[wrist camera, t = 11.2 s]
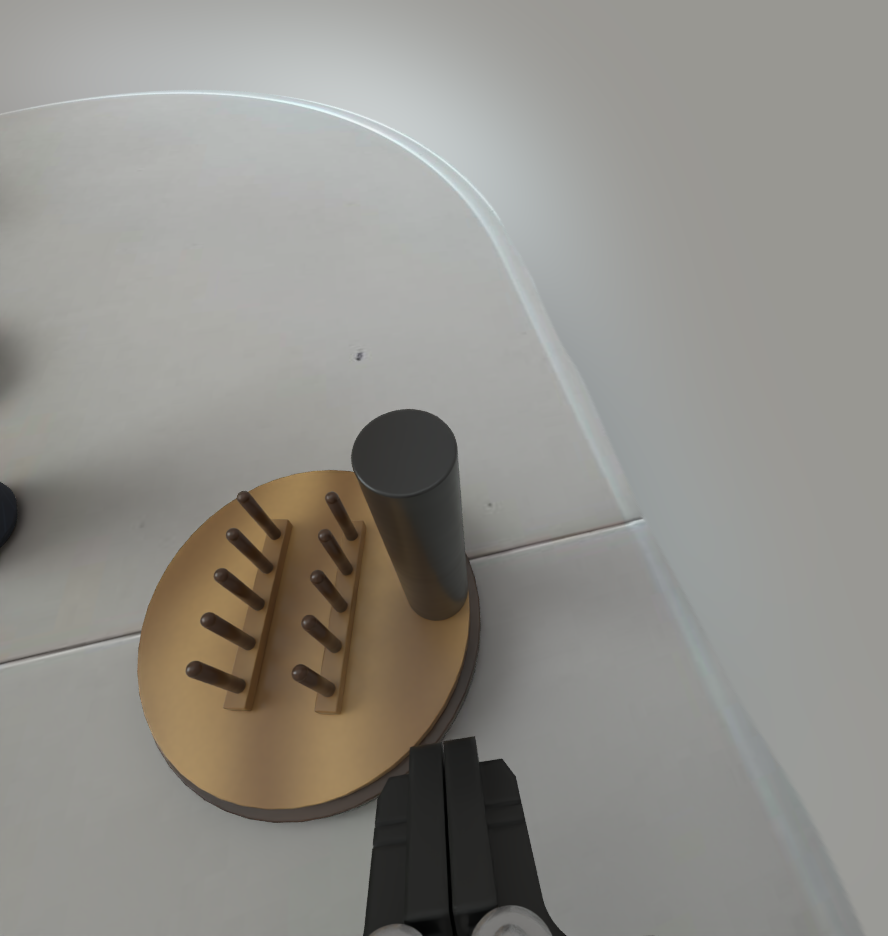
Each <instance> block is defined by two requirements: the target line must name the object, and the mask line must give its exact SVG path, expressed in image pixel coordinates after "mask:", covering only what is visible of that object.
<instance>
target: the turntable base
mask: <svg viewBox="0 0 888 936" xmlns="http://www.w3.org/2000/svg"><path fill="white" fill-rule="evenodd" d="M465 556H466V569H467V582H468V592H469V607H470V628H469V640H468V646H467V651H466V655H465V660H464V665H463V667H462V670H461V673H460V676H459V679H458V682H457V685H456V687H455V689H454V691H453V694H452V696H451V698H450V700H449V702H448V704H447V706H446V708H445V710H444V711H443V713H442V714H441V716H440V717H439V719H438V720H437V722H436V723H435V725H434V726H433V728H432V729H431V731H430V732H429V733H428V734H427V735H426V737H425V738H424V739H423V740H422V741H421V743H420V744H419V745H426V744H432V743H438V742H441V741H442V739H443V738H444V736H445V735H446V733H447V731H448V730H449V728H450V727H451V725H452V724H453V722H454V721H455V719H456V717H457V715H458V713H459V711H460V709H461V707H462V704H463V702H464V700H465V698H466V696H467V693H468V690H469V687H470V684H471V681H472V678H473V675H474V672H475V667H476V662H477V657H478V652H479V641H480V606H479V596H478V591H477V586H476V581H475V577H474V574H473V571H472V568H471V565H470V562H469V559H468V557H467V555H466V553H465ZM154 740H155V739H154ZM155 742H156V740H155ZM156 744H157V742H156ZM419 745H418V746H419ZM157 747H158V749H159V750H160V752H161V754H162V755H163V757H164V758H165V760H166V762H167V763H168V765H169V766H170V768H171V769H172V770H173V771H174V772H175V774H176V775H177V776H178V777H179V778H180V779H181V780H182V781H183V783H184V784H185V785H186V786H188V787H189V788H190V789H191V790H193V791H194V792H195V793H196V794H198V795H199V796H200V797H201V798H203V799H204V800H206V801H207V802H209V803H211V804H213V805H215V806H217V807H219V808H220V809H222V810H224V811H226V812H229V813H232V814H235V815H239V816H242V817H245V818H248V819H253V820H259V821H266V822H273V823H283V822H304V821H310V820H315V819H321V818H326V817H330V816H334V815H337V814H340V813H343V812H346V811H349V810H352V809H355V808H358V807H360V806H362V805H364V804H366V803H368V802H370V801H372V800H374V799H375V798H377V797H379V795H380V793H381V792H382V790H383V788H384V786H385V784H386V782H387V780H388V778H389V777H393V776H399V775H405V774H409V755H408V756H407V757H406V758H405V759H404V760H403V761H401V762H400V763H399V764H398V765H397V766H396V767H395V768H394V769H392V770H391V771H389V772H388V773H386V774H385V775H384V776H382V777H381V778H379V779H378V780H376V781H375V782H373V783H372V784H370V785H368V786H366V787H364V788H362V789H360V790H358V791H356V792H354V793H352V794H350V795H348V796H345V797H342V798H339V799H336V800H333V801H330V802H327V803H324V804H318V805H313V806H307V807H302V808H296V809H272V810H266V809H259V808H252V807H245V806H240V805H237V804H234V803H231V802H228V801H225V800H222V799H219V798H217V797H215V796H213V795H212V794H210V793H208V792H206V791H204V790H202V789H200V788H198V787H197V786H196V785H195V784H193V783H192V782H191V781H190V780H188V779H187V778H186V777H184V776H183V775H182V774H181V773H180V772H179V771H178V770H177V769H176V768H175V767H174V766H173V764H172V763H171V762H170V761H169V760H168V759H167V758H166V757H165V755H164V753H163V752H162V750H161V749H160V747H159V745H158V744H157Z"/></svg>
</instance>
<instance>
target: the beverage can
mask: <svg viewBox="0 0 888 936" xmlns="http://www.w3.org/2000/svg"><path fill="white" fill-rule="evenodd" d="M16 520H17V503H16V498H15V495H14V493H13V492H12V490H11V489H10V488H9V487H7V486H6V485H4V484H3V483H1V482H0V547H1V546H2V545H3V544H4V543H5V542H6V540H7V539H8V538H9V536H10V535H11V533H12V531H13V529H14V527H15V524H16Z"/></svg>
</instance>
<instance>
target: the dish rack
mask: <svg viewBox="0 0 888 936" xmlns="http://www.w3.org/2000/svg"><path fill="white" fill-rule="evenodd" d="M351 462H352V467H353V471H354V472H351V471H337V470H325V471H311V472H305V473H299V474H294V475H290V476H287V477H283V478H279V479H276V480H273V481H271V482H268V483H266V484H263V485H261V486H258V487H256V488H254V489H252V490H250V491H249V492H247V491H241V492H240V493H238V495H237V498H236V499H235V500H233V501H232V502H230V503H228V504H227V505H225V506H224V507H223V508H221V509H220V510H219V511H218V512H216V513H215V514H214V515H212V516H211V517H210V518H209V519H208V520H207V521H206V522H205V523H203V524H202V525H201V526H200V527H199V528H198V529H197V530H196V531H195V532H194V533H193V534H192V535H191V537H190V538H189V539H188V540H187V541H186V542H185V544H184V545H183V546H182V547H181V548H180V550H179V551H178V552H177V554H176V555H175V557H174V558H173V560H172V561H171V562H170V564H169V565H168V567H167V569H166V570H165V572H164V574H163V576H162V578H161V579H160V581H159V583H158V585H157V587H156V589H155V592H154V594H153V596H152V599H151V601H150V604H149V606H148V609H147V613H146V616H145V619H144V623H143V626H142V631H141V637H140V643H139V649H138V670H137V673H138V684H139V694H140V699H141V703H142V707H143V711H144V715H145V718H146V720H147V723H148V725H149V728H150V730H151V732H152V735H153V737H154V739H155V740H156V742H157V744H158V745H159V747H160V749H161V750H162V752H163V753H164V755H165V757H166V758H167V759H168V760H169V761H170V762H171V763H172V764H173V766H174V767H175V768H176V769H177V770H178V771H179V772H180V773H181V774H182V775H183V776H184V777H186V778H187V779H188V780H190V781H191V782H192V783H193V784H195V785H196V786H197V787H198V788H200V789H202V790H204V791H206V792H208V793H210V794H212V795H213V796H215V797H217V798H219V799H222V800H225V801H228V802H231V803H234V804H237V805H240V806H245V807H252V808H259V809H266V810H272V809H296V808H302V807H307V806H313V805H318V804H324V803H327V802H330V801H333V800H336V799H339V798H342V797H345V796H348V795H350V794H352V793H354V792H356V791H358V790H360V789H362V788H364V787H366V786H368V785H370V784H372V783H373V782H375V781H376V780H378V779H379V778H381V777H382V776H384V775H385V774H386V773H388V772H389V771H391V770H392V769H394V768H395V767H396V766H397V765H398V764H399V763H400V762H401V761H403V760H404V759H405V758H406V757H407V756H408V755H409V752H410V747H413V746H418V745H419V744H420V743H421V741H422V740H423V739H424V738H425V737H426V735H427V734H428V733H429V732H430V731H431V729H432V728H433V726H434V725H435V723H436V722H437V720H438V719H439V717H440V716H441V714H442V713H443V711H444V710H445V708H446V706H447V704H448V702H449V700H450V698H451V696H452V694H453V691H454V689H455V687H456V685H457V682H458V679H459V676H460V673H461V670H462V667H463V665H464V660H465V655H466V651H467V646H468V640H469V628H470V607H469V592H468V582H467V569H466V556H465V543H464V530H463V516H462V503H461V490H460V477H459V463H458V450H457V443H456V439H455V436H454V434H453V432H452V431H451V429H450V428H449V427H448V425H447V424H446V423H444V422H443V421H442V420H441V419H440V418H438V417H437V416H435V415H433V414H430V413H428V412H425V411H421V410H415V409H403V410H396V411H392V412H388V413H386V414H383V415H381V416H379V417H377V418H376V419H374V420H372V421H371V422H370V423H369V424H367V425H366V426H365V427H364V428H363V429H362V431H361V432H360V433H359V435H358V437H357V438H356V440H355V443H354V445H353V449H352V455H351Z"/></svg>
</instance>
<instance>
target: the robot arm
mask: <svg viewBox="0 0 888 936" xmlns="http://www.w3.org/2000/svg"><path fill="white" fill-rule="evenodd" d="M363 936H566V935H565V934H564V933H563V932H562V931H561V930H560V929H559V928H558V927H557V926H556V924H555V923H554V922H553V920H552V919H551V917H550V916H549V914H548V912H547V910H546V907H545V905H544V901H543V898H542V893H541V889H540V884H539V880H538V875H537V871H536V866H535V862H534V857H533V853H532V848H531V844H530V839H529V835H528V830H527V826H526V822H525V817H524V812H523V808H522V804H521V799H520V794H519V789H518V785H517V780H516V776H515V775H514V774H513V772H512V771H511V770H510V768H509V767H508V766H507V765H506V763H505V762H504V761H503V759H497V760H491V761H484V762H479V758H478V752H477V745H476V739H475V736H474V737H468V738H462V739H455V740H449V741H444V749H443V745H442V742H438V743H432V744H426V745H419V746H413V747H410V752H409V774H405V775H399V776H393V777H389V778H388V780H387V782H386V784H385V786H384V788H383V790H382V792H381V793H380V795H379V797H378V800H377V810H376V820H375V829H374V839H373V849H372V859H371V869H370V878H369V888H368V898H367V908H366V918H365V927H364V933H363Z"/></svg>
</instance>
